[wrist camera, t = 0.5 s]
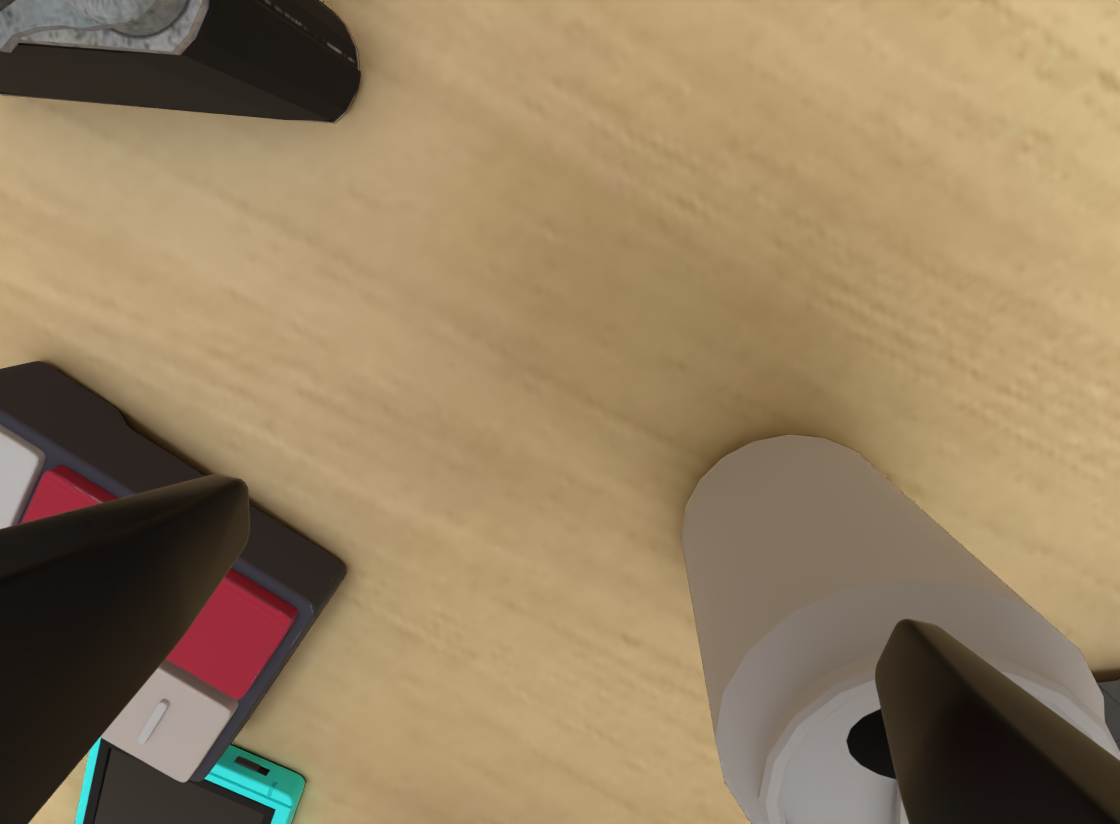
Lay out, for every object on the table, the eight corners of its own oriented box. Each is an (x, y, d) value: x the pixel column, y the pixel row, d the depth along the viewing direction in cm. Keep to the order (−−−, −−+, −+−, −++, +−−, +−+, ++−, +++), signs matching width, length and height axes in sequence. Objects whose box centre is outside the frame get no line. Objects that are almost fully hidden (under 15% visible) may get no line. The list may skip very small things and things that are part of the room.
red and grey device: (186, 804, 24) (-162, 608, 23) (247, 721, 28) (-44, 550, 27) (309, 622, 21) (-84, 380, 20) (358, 558, 25) (37, 355, 24)
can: (895, 421, 21) (1225, 633, 9) (884, 612, 22) (1147, 988, 11) (675, 432, 22) (723, 634, 10) (682, 613, 24) (730, 959, 12)
